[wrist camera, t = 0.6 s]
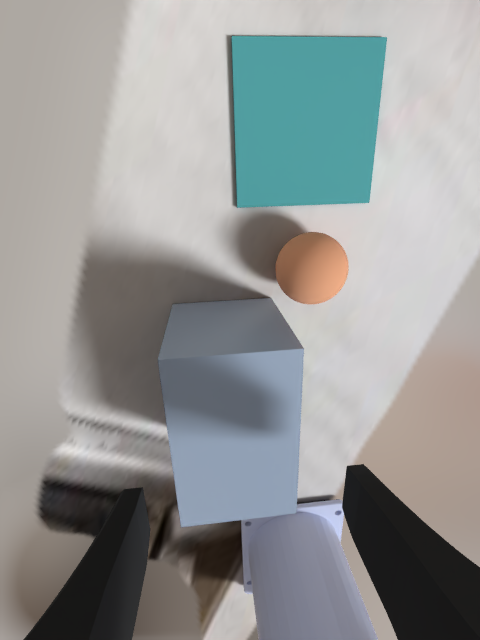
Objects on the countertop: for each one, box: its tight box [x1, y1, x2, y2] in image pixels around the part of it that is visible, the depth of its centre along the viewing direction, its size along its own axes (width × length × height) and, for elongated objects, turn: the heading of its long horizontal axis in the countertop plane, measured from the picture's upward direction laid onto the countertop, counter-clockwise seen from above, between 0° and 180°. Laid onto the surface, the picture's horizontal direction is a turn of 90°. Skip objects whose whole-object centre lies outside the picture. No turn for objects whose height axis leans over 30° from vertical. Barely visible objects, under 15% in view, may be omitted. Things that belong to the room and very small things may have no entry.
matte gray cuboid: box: [158, 298, 304, 527], centre depth 17 cm, size 9×6×7 cm, turn 2°
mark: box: [232, 36, 387, 208], centre depth 16 cm, size 7×7×1 cm
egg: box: [275, 232, 348, 304], centre depth 17 cm, size 4×4×4 cm
